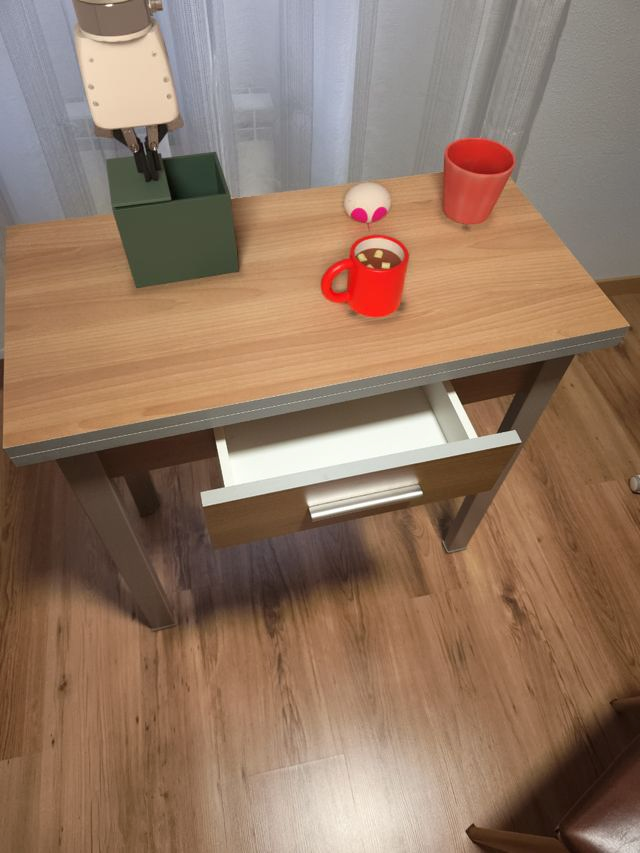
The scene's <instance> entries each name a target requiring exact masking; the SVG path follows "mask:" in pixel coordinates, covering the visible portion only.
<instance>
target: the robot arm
mask: <svg viewBox="0 0 640 853" xmlns="http://www.w3.org/2000/svg"><path fill="white" fill-rule="evenodd" d="M162 1H163V0H71V2H72V5H73V9H74V13H75V17H76V20H77V23H75V24H74V25H73V39H74V47H75V52H76V57H77V62H78V67H79V72H80V76H81V80H82V85H83V89H84V93H85V97H86V101H87V104H88V108H89V112H90V114H91V118H92V120H93V133H94V135H95V136H96V137H98V138H106V139H115V140H116V141H118V142H119V143H121V144H122V145H124V146H125V147H127V148H128V150H129V151H130V152H131V153H132V156H134V159H135V163H136V167H137V171H138V173H144V177H145V181H146V182H150V181H149V180H151V178H150V173H149V168H150V172H151V176H152V180H154V181H158V178H157V173H156V171H158V170H161V166H160V161H159V157H158V153H159V152H158V149H159V146H160V144H161V142H162V140H163V139H164V138H165V137H166V136H167V134H168V133H169V132H174V131H176V130H179V129H181V128H183V127H184V125H185V124H184V123H185V122H184V120H183V116H182V114H181V112H180V108H179V101H178V95H177V94H178V93H177V90H176V85H175V80H174V75H173V71H172V66H171V61H170V57H169V54H168V50H167V46H166V42H165V39H164V35H163V32H162V30H161V27H160V24H159V21H158V19H157V18H154V13H155V14H156V13H157V12H163V11H164V8H163V2H162ZM139 127H140V128H141V127H145V133H146V134H145V135H146V136H145V137H144V141H141V138H139V137H138V134H137V133H136V130H135V128H139ZM146 155H147V159H148V163H149V168H148V164H147V159H146Z"/></svg>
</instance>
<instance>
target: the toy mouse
mask: <svg viewBox="0 0 640 853" xmlns="http://www.w3.org/2000/svg"><path fill="white" fill-rule="evenodd" d="M391 207H392V197H391V194H390V192H389V191H388V189H387V188H386V187H384V186H383V185H382V184H381V183H377V182H373V181H364V182H360V183H357V184H356V185H353V186H352V187H351V188H350V189H349V190H348V191H347V192H346V193H345V196H344V199H343V208H344V210H345V213H346V214H347V216H348V217H350V218H351V219H352V220H354V221H356V222H359V223H363V224H367V228H368V231H369V232H370V231H371V230H370V223H375V222H377V221H380V220H381V219H383V218H384V217H385V216H387V214H388V213H389V211H390V209H391Z"/></svg>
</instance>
